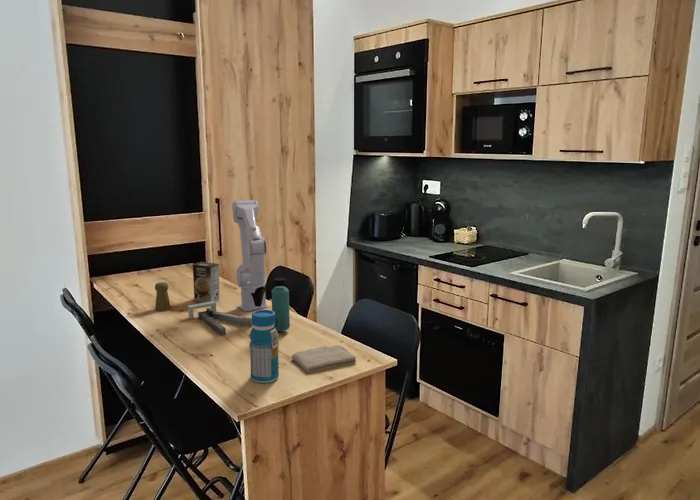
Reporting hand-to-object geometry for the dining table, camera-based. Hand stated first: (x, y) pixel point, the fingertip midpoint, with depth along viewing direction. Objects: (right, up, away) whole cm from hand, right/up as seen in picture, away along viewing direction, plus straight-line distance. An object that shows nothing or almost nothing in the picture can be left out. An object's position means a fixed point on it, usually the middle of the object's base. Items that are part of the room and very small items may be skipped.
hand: (258, 305), depth 202 cm
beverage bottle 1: (+10, -16, -46) cm, 50 cm away
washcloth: (+27, -15, -34) cm, 46 cm away
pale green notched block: (-23, -5, +6) cm, 24 cm away
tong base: (-15, -7, -4) cm, 17 cm away
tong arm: (-11, -6, 0) cm, 12 cm away
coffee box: (-26, 0, +25) cm, 36 cm away
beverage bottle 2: (+10, -9, -10) cm, 16 cm away
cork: (-41, -3, +13) cm, 43 cm away
